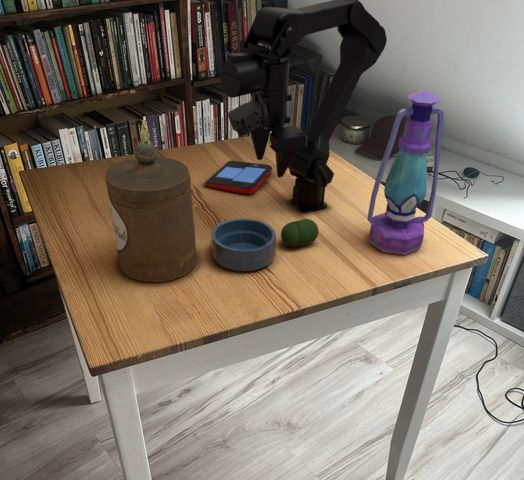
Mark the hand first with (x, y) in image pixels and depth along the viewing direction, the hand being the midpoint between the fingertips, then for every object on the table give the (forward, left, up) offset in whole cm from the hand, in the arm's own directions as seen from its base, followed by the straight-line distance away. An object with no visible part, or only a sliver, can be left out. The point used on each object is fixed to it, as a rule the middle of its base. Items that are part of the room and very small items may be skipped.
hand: (269, 168), depth 115 cm
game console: (-3, -21, -12) cm, 24 cm away
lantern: (-20, +19, -12) cm, 30 cm away
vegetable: (+22, -13, -12) cm, 28 cm away
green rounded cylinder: (-2, +11, -12) cm, 16 cm away
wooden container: (+27, +6, -12) cm, 30 cm away
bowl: (+11, +11, -12) cm, 20 cm away
